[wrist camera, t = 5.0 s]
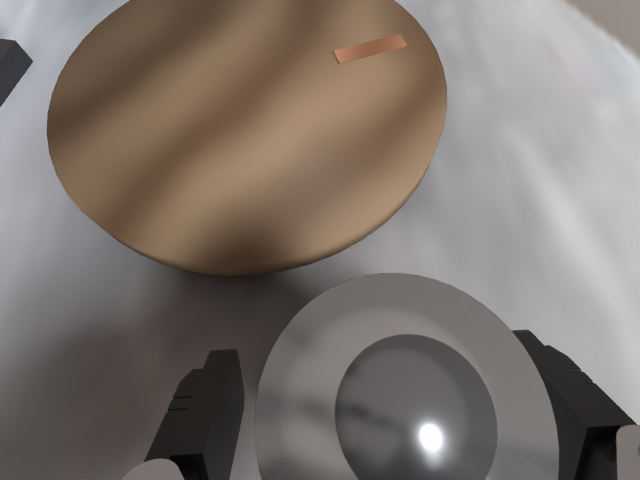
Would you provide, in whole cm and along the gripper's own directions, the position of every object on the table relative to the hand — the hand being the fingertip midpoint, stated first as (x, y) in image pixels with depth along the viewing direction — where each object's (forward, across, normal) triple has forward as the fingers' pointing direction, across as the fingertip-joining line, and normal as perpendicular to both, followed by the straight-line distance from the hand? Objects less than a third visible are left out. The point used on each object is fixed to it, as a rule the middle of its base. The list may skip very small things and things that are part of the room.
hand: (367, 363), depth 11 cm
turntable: (+14, +4, -8) cm, 16 cm away
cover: (+3, 0, +5) cm, 5 cm away
